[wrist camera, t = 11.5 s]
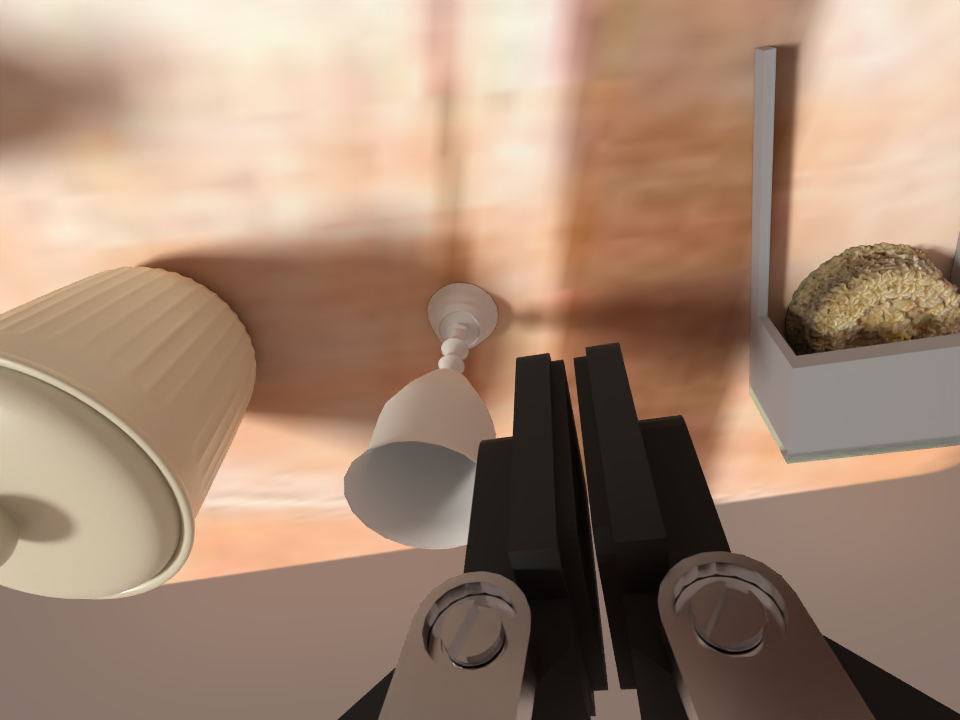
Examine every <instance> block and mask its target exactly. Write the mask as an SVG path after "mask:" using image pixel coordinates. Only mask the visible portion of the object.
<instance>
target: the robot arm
mask: <svg viewBox="0 0 960 720" xmlns="http://www.w3.org/2000/svg"><path fill="white" fill-rule="evenodd" d="M585 348H586V355H587V356H584V357H577V358H574V367H575V376H576V385H577V394H578V403H579V412H580V421H581V430H582V439H583V448H584V457H585V466H586V475H587V484H588V493H589V502H590V511H591V520H592V528H593V535H594V543H595V550H596V556H597V562H598V568H599V573H600V579H601V584H602V590H603V594H604V601H605V606H606V612H607V617H608V622H609V628H610V633H611V638H612V644H613V650H614V655H615V661H616V666H617V672H618V677H619V683H620V688H621V689H637V695H638V701H639V707H640V713H641V720H960V714H958V713H957V712H955V711H953V710H952V709H950V708H948V707H947V706H944V705H943V704H941V703H939V702H938V701H936V700H934V699H933V698H931V697H929V696H927V695H926V694H924V693H922V692H921V691H919V690H917V689H915V688H914V687H912V686H910V685H909V684H907V683H905V682H903V681H902V680H900V679H898V678H896V677H895V676H893V675H891V674H890V673H888V672H886V671H884V670H882V669H881V668H879V667H877V666H876V665H874V664H872V663H870V662H869V661H867V660H865V659H863V658H862V657H860V656H858V655H857V654H855V653H853V652H851V651H850V650H848V649H846V648H844V647H843V646H841V645H839V644H838V643H836V642H834V641H832V640H831V639H829V638H827V637H826V636H824V635H822V633H821V632H820V630H819V629H818V627H817V625H816V624H815V622H814V621H813V619H812V618H811V616H810V614H809V613H808V611H807V610H806V608H805V606H804V605H803V603H802V602H801V600H800V598H799V597H798V595H797V594H796V592H795V591H794V590H793V589H792V588H791V586H790V585H789V584H788V583H787V582H786V581H785V580H784V578H783V577H782V576H781V575H780V574H778V573H777V572H776V571H774V570H773V569H771V568H770V567H768V566H767V565H766V564H764V563H762V562H760V561H757V560H755V559H752V558H750V557H747V556H745V555H742V554H736V553H731V551H730V548H729V545H728V542H727V539H726V536H725V534H724V531H723V528H722V525H721V522H720V519H719V517H718V514H717V511H716V508H715V505H714V502H713V500H712V497H711V494H710V491H709V488H708V485H707V482H706V480H705V477H704V474H703V471H702V468H701V465H700V463H699V460H698V457H697V454H696V451H695V448H694V446H693V443H692V440H691V437H690V434H689V431H688V429H687V426H686V423H685V421H684V418H683V417H682V416H681V415H678V416H670V417H662V418H654V419H647V420H639V421H638V418H637V414H636V410H635V406H634V402H633V398H632V394H631V390H630V386H629V382H628V377H627V373H626V369H625V365H624V361H623V357H622V353H621V349H620V345H619V343H612V344H605V345H598V346H592V347H585ZM597 690H598V691H599V690H608V683H607V674H606V663H605V654H604V645H603V636H602V627H601V618H600V608H599V599H598V590H597V580H596V571H595V562H594V552H593V543H592V534H591V525H590V515H589V506H588V497H587V490H586V483H585V477H584V471H583V466H582V460H581V454H580V449H579V443H578V438H577V432H576V427H575V421H574V415H573V410H572V404H571V399H570V393H569V387H568V382H567V376H566V371H565V365H564V361H563V360H557V361H551V357H550V354H549V353H546V354H539V355H532V356H526V357H519V358H517V359H516V376H515V398H514V421H513V436H512V437H505V438H497V439H489V440H482V441H481V442H480V444H479V449H478V456H477V465H476V473H475V482H474V490H473V498H472V507H471V515H470V524H469V532H468V541H467V550H466V558H465V566H464V574H461V575H458V576H456V577H453V578H450V579H448V580H447V581H445V582H444V583H442V584H441V585H439V586H438V587H436V588H435V589H433V590H432V591H431V593H430V594H429V595H428V596H427V597H426V598H425V599H424V600H423V601H422V603H421V604H420V606H419V608H418V610H417V612H416V614H415V616H414V618H413V620H412V622H411V625H410V629H409V631H408V634H407V637H406V640H405V643H404V646H403V649H402V652H401V655H400V657H399V660H398V663H397V666H396V668H394V669H393V670H392V671H391V672H390V673H389V674H388V675H387V676H386V677H384V678H383V679H382V680H381V681H380V682H379V683H378V684H377V685H376V686H374V687H373V688H372V689H371V690H370V691H369V692H368V693H367V694H366V695H364V696H363V697H362V698H361V699H360V700H359V701H358V702H357V703H356V704H354V705H353V706H352V707H351V708H350V709H349V710H348V711H347V712H346V713H345V714H344V715H342V716H341V717H340V718H339V719H338V720H591V718H590V716H596V714H595V703H594V691H597Z"/></svg>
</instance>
